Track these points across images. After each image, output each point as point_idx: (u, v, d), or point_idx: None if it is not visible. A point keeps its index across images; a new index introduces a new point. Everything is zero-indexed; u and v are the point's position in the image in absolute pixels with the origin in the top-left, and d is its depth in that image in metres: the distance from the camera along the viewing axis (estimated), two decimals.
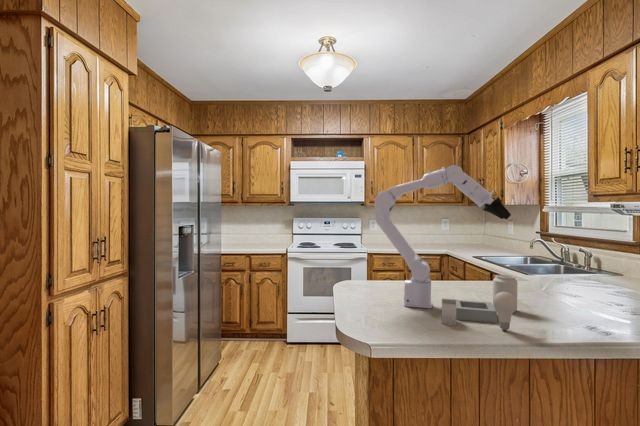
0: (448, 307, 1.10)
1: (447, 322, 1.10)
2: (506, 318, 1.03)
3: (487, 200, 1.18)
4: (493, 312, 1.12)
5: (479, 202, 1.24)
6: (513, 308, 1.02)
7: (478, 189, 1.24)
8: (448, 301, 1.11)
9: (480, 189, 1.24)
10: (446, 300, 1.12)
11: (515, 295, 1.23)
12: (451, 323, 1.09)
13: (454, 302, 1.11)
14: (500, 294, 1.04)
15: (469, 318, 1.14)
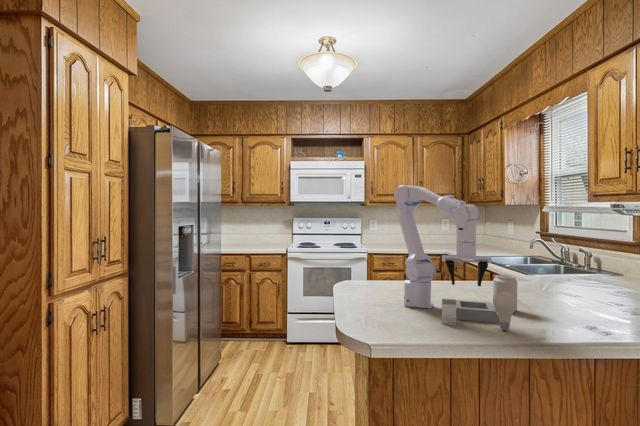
0: (448, 307, 1.10)
1: (447, 322, 1.10)
2: (506, 318, 1.03)
3: None
4: (493, 312, 1.12)
5: None
6: (513, 308, 1.02)
7: (457, 244, 1.16)
8: (448, 301, 1.11)
9: (458, 245, 1.15)
10: (446, 300, 1.12)
11: (515, 295, 1.23)
12: (451, 323, 1.09)
13: (454, 302, 1.11)
14: (500, 294, 1.04)
15: (469, 318, 1.14)
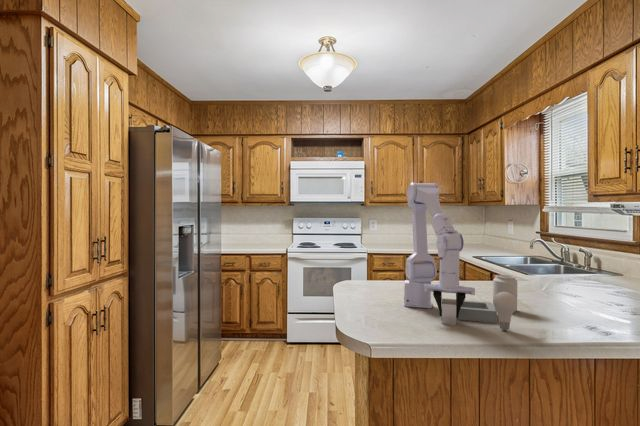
0: (448, 307, 1.10)
1: (447, 322, 1.10)
2: (506, 318, 1.03)
3: None
4: (493, 312, 1.12)
5: None
6: (513, 308, 1.02)
7: (440, 274, 1.12)
8: (448, 301, 1.12)
9: (440, 276, 1.11)
10: (446, 300, 1.12)
11: (515, 295, 1.23)
12: (451, 323, 1.09)
13: (454, 302, 1.11)
14: (500, 294, 1.04)
15: (469, 318, 1.14)
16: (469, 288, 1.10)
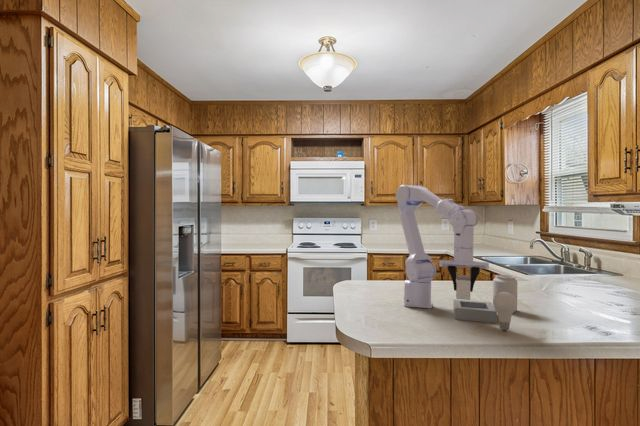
0: (463, 282, 1.13)
1: (461, 297, 1.13)
2: (506, 318, 1.03)
3: (439, 261, 1.18)
4: (493, 312, 1.12)
5: None
6: (513, 308, 1.02)
7: (454, 249, 1.16)
8: (462, 277, 1.15)
9: (455, 251, 1.15)
10: (460, 276, 1.15)
11: (515, 295, 1.23)
12: (465, 298, 1.13)
13: (468, 278, 1.14)
14: (500, 294, 1.04)
15: (469, 318, 1.14)
16: (483, 263, 1.14)
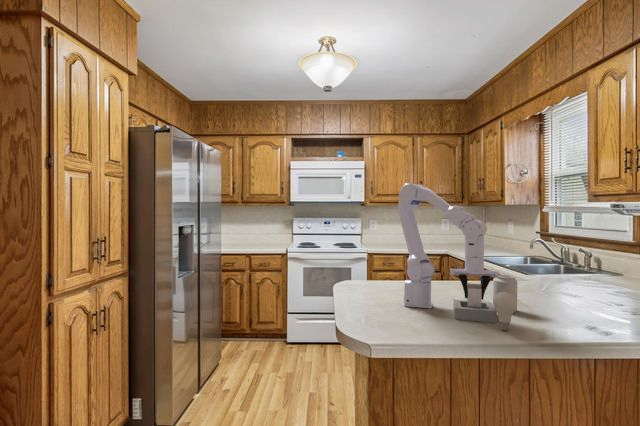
0: (474, 291, 1.16)
1: (473, 305, 1.16)
2: (506, 318, 1.03)
3: (450, 270, 1.22)
4: (493, 312, 1.12)
5: None
6: (513, 308, 1.02)
7: (465, 258, 1.19)
8: (473, 285, 1.18)
9: (466, 260, 1.18)
10: (471, 284, 1.18)
11: (515, 295, 1.23)
12: (477, 306, 1.16)
13: (479, 286, 1.18)
14: (500, 294, 1.04)
15: (469, 318, 1.14)
16: (493, 271, 1.17)
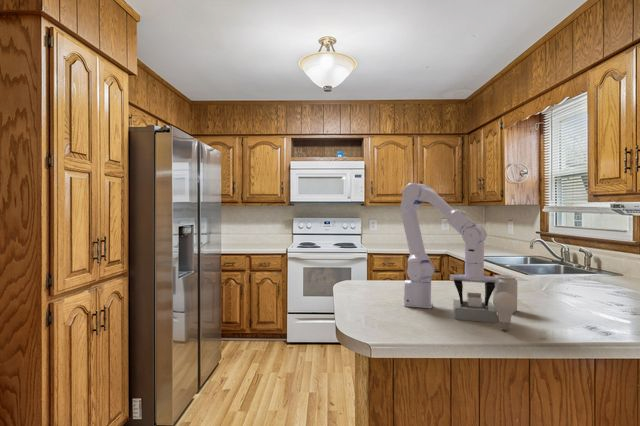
0: (474, 300, 1.16)
1: None
2: (506, 318, 1.03)
3: (450, 276, 1.22)
4: (493, 312, 1.12)
5: None
6: (513, 308, 1.02)
7: (465, 264, 1.19)
8: (473, 294, 1.18)
9: (466, 266, 1.18)
10: (471, 293, 1.19)
11: (515, 295, 1.23)
12: None
13: (479, 295, 1.18)
14: (500, 294, 1.04)
15: (469, 318, 1.14)
16: (493, 277, 1.17)
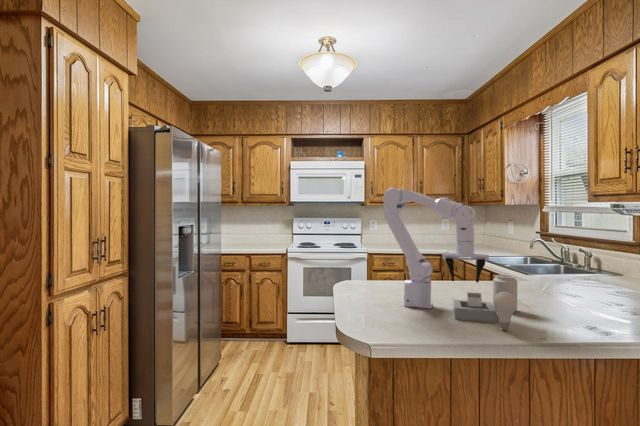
0: (474, 300, 1.16)
1: None
2: (506, 318, 1.03)
3: (442, 254, 1.27)
4: (493, 312, 1.12)
5: None
6: (513, 308, 1.02)
7: (456, 243, 1.24)
8: (473, 294, 1.18)
9: (457, 244, 1.23)
10: (471, 293, 1.19)
11: (515, 295, 1.23)
12: None
13: (479, 295, 1.18)
14: (500, 294, 1.04)
15: (469, 318, 1.14)
16: (483, 255, 1.22)
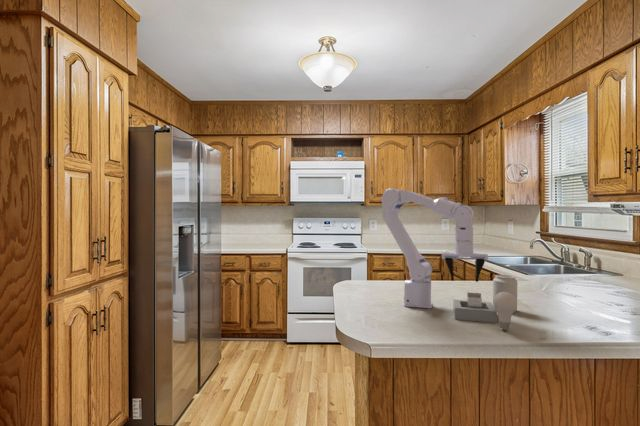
0: (474, 300, 1.16)
1: None
2: (506, 318, 1.03)
3: None
4: (493, 312, 1.12)
5: None
6: (513, 308, 1.02)
7: (456, 242, 1.24)
8: (473, 294, 1.18)
9: (456, 244, 1.24)
10: (471, 293, 1.19)
11: (515, 295, 1.23)
12: None
13: (479, 295, 1.18)
14: (500, 294, 1.04)
15: (469, 318, 1.14)
16: None
